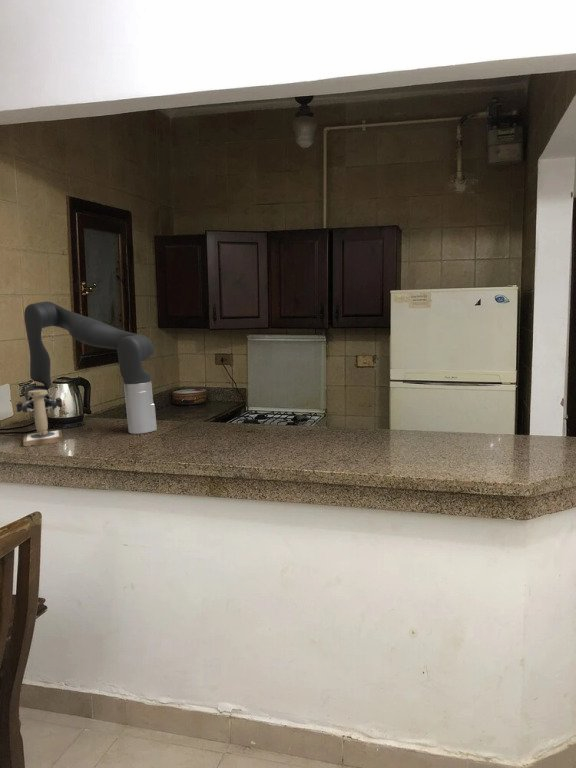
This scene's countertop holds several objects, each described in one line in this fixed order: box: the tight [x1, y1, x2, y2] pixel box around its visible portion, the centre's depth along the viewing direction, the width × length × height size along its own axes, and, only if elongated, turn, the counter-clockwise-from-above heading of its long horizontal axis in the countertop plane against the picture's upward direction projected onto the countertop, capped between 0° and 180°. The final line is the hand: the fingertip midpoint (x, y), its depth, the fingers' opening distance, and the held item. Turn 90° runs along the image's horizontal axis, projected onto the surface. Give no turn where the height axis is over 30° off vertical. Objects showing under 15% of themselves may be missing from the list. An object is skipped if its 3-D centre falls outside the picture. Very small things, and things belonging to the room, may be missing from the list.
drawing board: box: [22, 429, 64, 447], centre depth 201 cm, size 12×12×2 cm
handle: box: [28, 390, 49, 436], centre depth 200 cm, size 5×6×15 cm
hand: (39, 407), depth 197 cm, fingers open, 8 cm apart
